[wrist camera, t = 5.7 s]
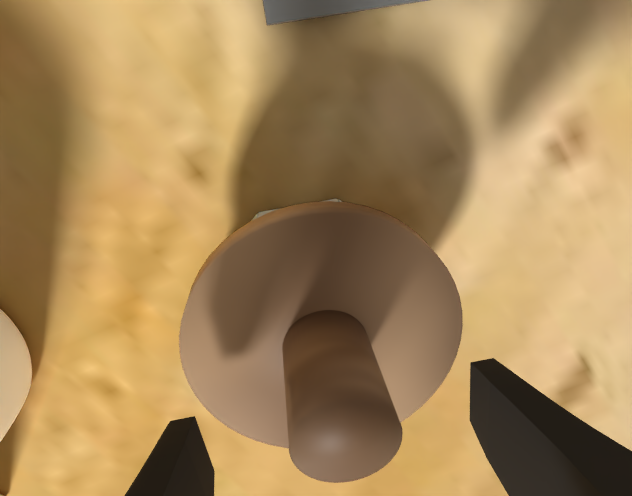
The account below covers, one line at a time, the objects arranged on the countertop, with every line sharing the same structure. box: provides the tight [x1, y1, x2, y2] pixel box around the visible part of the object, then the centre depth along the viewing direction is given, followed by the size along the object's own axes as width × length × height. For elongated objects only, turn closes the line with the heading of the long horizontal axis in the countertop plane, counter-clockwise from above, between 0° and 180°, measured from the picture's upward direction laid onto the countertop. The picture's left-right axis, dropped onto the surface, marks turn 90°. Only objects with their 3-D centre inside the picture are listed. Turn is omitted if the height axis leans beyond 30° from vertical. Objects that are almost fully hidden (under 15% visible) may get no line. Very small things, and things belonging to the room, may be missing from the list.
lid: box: [179, 201, 462, 483], centre depth 12 cm, size 8×8×4 cm
